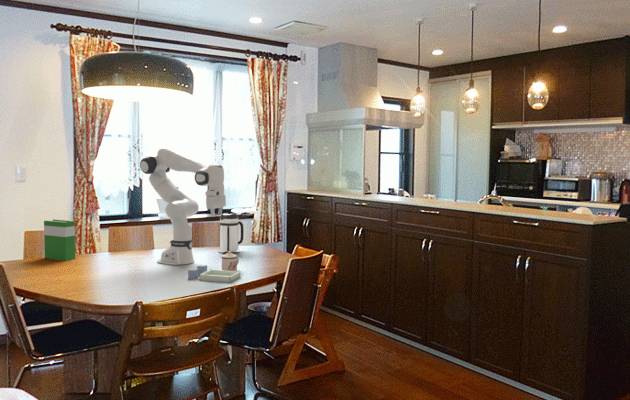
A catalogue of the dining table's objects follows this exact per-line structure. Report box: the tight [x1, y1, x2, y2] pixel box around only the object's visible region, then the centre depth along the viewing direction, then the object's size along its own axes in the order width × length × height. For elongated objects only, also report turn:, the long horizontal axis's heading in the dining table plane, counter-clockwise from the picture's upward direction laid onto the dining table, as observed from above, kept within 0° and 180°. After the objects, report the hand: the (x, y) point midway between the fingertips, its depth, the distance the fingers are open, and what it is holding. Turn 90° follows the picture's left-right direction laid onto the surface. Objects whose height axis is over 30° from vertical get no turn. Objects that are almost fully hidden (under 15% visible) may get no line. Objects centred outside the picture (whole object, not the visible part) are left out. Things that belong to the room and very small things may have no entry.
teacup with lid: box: [221, 251, 240, 272], centre depth 318 cm, size 12×9×12 cm
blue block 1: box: [187, 268, 199, 280], centre depth 298 cm, size 4×4×5 cm
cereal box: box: [43, 219, 76, 262], centre depth 344 cm, size 18×7×24 cm, turn 68°
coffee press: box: [217, 209, 244, 254], centre depth 376 cm, size 17×16×30 cm
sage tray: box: [198, 269, 241, 284], centre depth 299 cm, size 18×14×3 cm
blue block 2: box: [196, 264, 208, 276], centre depth 309 cm, size 4×4×5 cm
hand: (216, 215), depth 319 cm, fingers open, 8 cm apart
